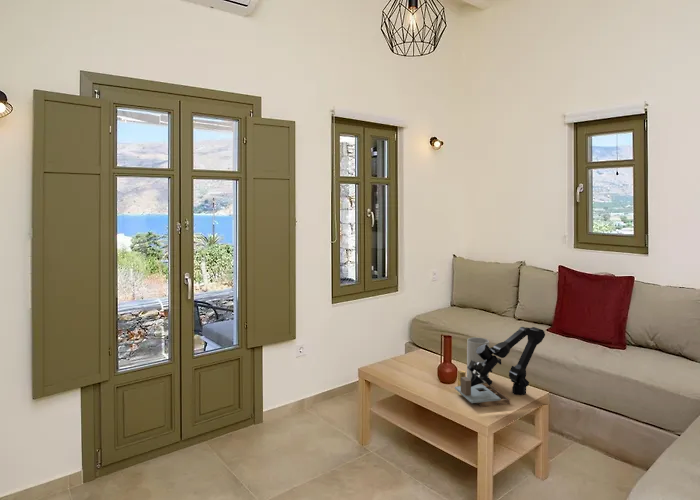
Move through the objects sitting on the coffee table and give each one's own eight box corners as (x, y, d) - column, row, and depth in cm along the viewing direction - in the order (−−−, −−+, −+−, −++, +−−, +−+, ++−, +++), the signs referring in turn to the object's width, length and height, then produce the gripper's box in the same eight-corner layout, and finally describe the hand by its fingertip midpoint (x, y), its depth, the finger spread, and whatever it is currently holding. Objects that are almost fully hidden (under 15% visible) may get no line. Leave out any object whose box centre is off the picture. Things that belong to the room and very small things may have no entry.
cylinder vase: (490, 385, 278) (491, 343, 275) (469, 385, 278) (469, 343, 276) (485, 377, 290) (485, 337, 288) (464, 377, 290) (465, 337, 288)
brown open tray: (490, 391, 268) (490, 385, 268) (509, 405, 249) (509, 399, 249) (464, 393, 265) (464, 387, 265) (481, 408, 246) (481, 402, 245)
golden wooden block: (462, 387, 275) (463, 370, 274) (465, 389, 272) (465, 372, 271) (457, 387, 275) (457, 370, 274) (460, 389, 271) (460, 372, 271)
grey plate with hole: (482, 385, 267) (482, 370, 266) (500, 400, 247) (501, 383, 247) (454, 388, 264) (454, 372, 263) (471, 403, 244) (471, 386, 243)
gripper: (470, 350, 263) (451, 371, 262) (487, 360, 245) (466, 383, 243) (483, 363, 265) (464, 383, 264) (500, 374, 247) (480, 396, 246)
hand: (468, 386), depth 254 cm, fingers closed, pressing on grey plate with hole
